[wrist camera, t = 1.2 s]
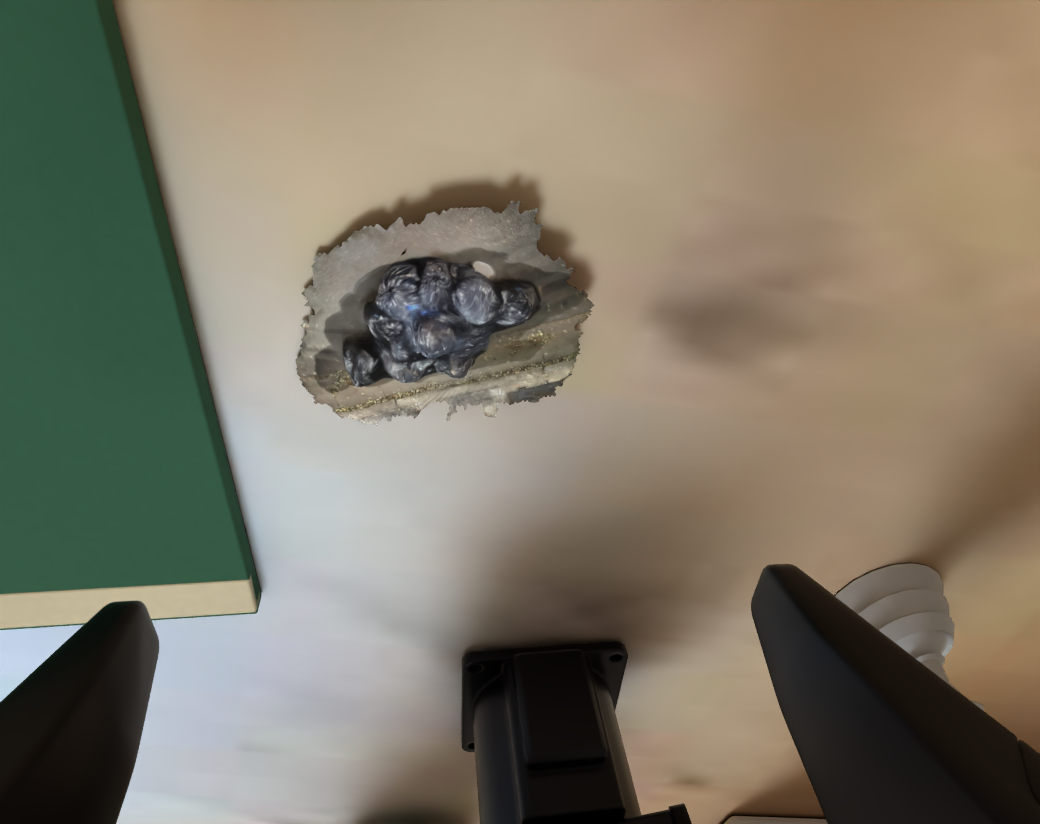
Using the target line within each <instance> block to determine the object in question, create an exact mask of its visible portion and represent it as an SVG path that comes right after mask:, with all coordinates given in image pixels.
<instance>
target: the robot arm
mask: <svg viewBox="0 0 1040 824" xmlns="http://www.w3.org/2000/svg"><path fill="white" fill-rule="evenodd" d="M751 611H752V616H753V620H754V623H755V626H756V630H757V633H758V636H759V640H760V643H761V647H762V650H763V653H764V657H765V660H766V663H767V667H768V670H769V673H770V677H771V680H772V683H773V687H774V690H775V693H776V696H777V699H778V702H779V705H780V708H781V711H782V714H783V716H784V719H785V721H786V724H787V726H788V729H789V731H790V734H791V736H792V738H793V741H794V743H795V746H796V748H797V750H798V753H799V755H800V758H801V760H802V762H803V765H804V767H805V770H806V772H807V774H808V777H809V779H810V782H811V784H812V786H813V789H814V791H815V794H816V796H817V798H818V801H819V803H820V806H821V808H822V811H823V813H824V815H825V818H826V820H827V823H828V824H1040V754H1039V753H1038V752H1036V751H1035V750H1034V749H1033V748H1031V747H1030V746H1029V745H1027V744H1026V743H1025V742H1023V741H1021V740H1017V737H1016V736H1015V735H1014V734H1013V733H1011V732H1010V731H1009V730H1008V729H1006V728H1005V727H1004V726H1002V725H1001V724H1000V723H999V722H997V721H996V720H995V719H993V718H992V717H991V716H989V715H988V714H987V713H986V712H984V711H983V710H982V709H980V708H979V707H978V706H976V705H975V704H974V703H973V702H971V701H970V700H969V699H967V698H966V697H965V696H964V695H962V694H961V693H960V692H958V691H957V690H956V689H954V688H953V687H952V686H951V685H949V684H948V683H947V682H945V681H944V680H943V679H941V678H940V677H939V676H938V675H936V674H935V673H934V672H932V671H931V670H930V669H929V668H927V667H926V666H925V665H923V664H922V663H921V662H919V661H918V660H917V659H916V658H914V657H913V656H912V655H910V654H909V653H908V652H906V651H905V650H904V649H903V648H901V647H900V646H899V645H897V644H896V643H895V642H894V641H892V640H891V639H890V638H888V637H887V636H886V635H884V634H883V633H882V632H881V631H879V630H878V629H877V628H875V627H874V626H873V625H871V624H870V623H869V622H868V621H866V620H865V619H864V618H862V617H861V616H860V615H859V614H857V613H856V612H855V611H853V610H852V609H851V608H849V607H848V606H847V605H846V604H844V603H843V602H842V601H840V600H839V599H838V598H836V597H835V596H834V595H833V594H831V593H830V592H829V591H827V590H826V589H825V588H824V587H822V586H821V585H820V584H818V583H817V582H816V581H814V580H813V579H812V578H811V577H809V576H808V575H807V574H805V573H804V572H803V571H801V570H800V569H799V568H797V567H796V566H794V565H792V564H775V565H767V566H766V567H765V568H764V569H763V571H762V573H761V576H760V579H759V581H758V584H757V587H756V589H755V592H754V595H753V597H752V601H751ZM158 654H159V640H158V636H157V633H156V631H155V628H154V626H153V623H152V620H151V618H150V615H149V613H148V610H147V608H146V606H145V604H144V603H143V602H141V601H137V600H136V601H119V602H111V603H109V604H107V605H106V606H104V607H103V608H102V609H101V610H100V611H99V612H97V613H96V614H95V615H94V616H93V617H92V618H91V619H90V620H89V621H88V622H87V623H86V624H85V625H83V626H82V627H81V628H80V629H79V630H78V631H77V632H76V633H75V634H74V635H73V636H72V637H70V638H69V639H68V640H67V641H66V642H65V643H64V644H63V645H62V646H61V647H60V648H59V649H57V650H56V651H55V652H54V653H53V654H52V655H51V656H50V657H49V658H48V659H47V660H46V661H45V662H43V663H42V664H41V665H40V666H39V667H38V668H37V669H36V670H35V671H34V672H33V673H32V674H30V675H29V676H28V677H27V678H26V679H25V680H24V681H23V682H22V683H21V684H20V685H19V686H17V687H16V688H15V689H14V690H13V691H12V692H11V693H10V694H9V695H8V696H7V697H6V698H5V699H3V700H2V701H1V702H0V824H116V822H117V819H118V816H119V813H120V810H121V807H122V804H123V801H124V798H125V795H126V792H127V789H128V786H129V783H130V779H131V776H132V773H133V769H134V766H135V762H136V758H137V753H138V749H139V745H140V740H141V735H142V730H143V726H144V721H145V716H146V711H147V707H148V702H149V697H150V692H151V688H152V683H153V678H154V673H155V669H156V664H157V659H158ZM627 659H628V654H627V650H626V647H625V645H624V644H623V643H622V642H617V641H614V642H600V643H587V644H574V645H560V646H547V647H534V648H520V649H507V650H494V651H480V652H472V653H469V654H467V655H465V656H464V657H463V659H462V708H461V742H462V749H463V750H464V751H467V752H475V759H476V773H477V787H478V801H479V815H480V824H692V823H691V820H690V818H689V815H688V812H687V809H686V807H685V804H679V805H674V806H669V810H665V811H660V812H655V813H650V814H646V815H641V812H640V808H639V804H638V800H637V796H636V793H635V789H634V785H633V781H632V777H631V773H630V769H629V765H628V761H627V757H626V753H625V750H624V746H623V742H622V738H621V734H620V730H619V726H618V722H617V718H616V714H615V709H616V704H617V700H618V696H619V692H620V688H621V684H622V679H623V675H624V671H625V667H626V663H627Z"/></svg>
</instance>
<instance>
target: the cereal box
mask: <svg viewBox="0 0 1040 824" xmlns="http://www.w3.org/2000/svg"><path fill="white" fill-rule="evenodd" d="M724 824H828V823H827V820H826V819H806V818H778V817H751V816H732V817H730V818H729V819H728V820H727V821H726V822H725V823H724Z"/></svg>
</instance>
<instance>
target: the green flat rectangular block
mask: <svg viewBox="0 0 1040 824" xmlns="http://www.w3.org/2000/svg"><path fill="white" fill-rule="evenodd" d="M260 599H261V591H260V588H259V584H258V580H257V576H256V572H255V568H254V564H253V560H252V556H251V552H250V548H249V544H248V540H247V536H246V532H245V528H244V524H243V520H242V516H241V512H240V508H239V504H238V500H237V496H236V492H235V488H234V484H233V480H232V476H231V472H230V468H229V464H228V460H227V456H226V452H225V448H224V444H223V440H222V436H221V432H220V428H219V424H218V420H217V417H216V413H215V409H214V405H213V401H212V397H211V393H210V389H209V385H208V381H207V377H206V373H205V369H204V365H203V361H202V357H201V353H200V349H199V345H198V341H197V337H196V333H195V329H194V325H193V321H192V317H191V313H190V309H189V305H188V301H187V297H186V293H185V289H184V285H183V281H182V277H181V273H180V269H179V265H178V261H177V257H176V253H175V249H174V246H173V242H172V238H171V234H170V230H169V226H168V222H167V218H166V214H165V210H164V206H163V202H162V198H161V194H160V190H159V186H158V182H157V178H156V174H155V170H154V166H153V162H152V158H151V154H150V150H149V146H148V142H147V138H146V134H145V130H144V126H143V122H142V118H141V114H140V110H139V106H138V102H137V98H136V94H135V90H134V86H133V82H132V78H131V75H130V71H129V67H128V63H127V59H126V55H125V51H124V47H123V43H122V39H121V35H120V31H119V27H118V23H117V19H116V15H115V11H114V7H113V3H112V0H0V630H8V629H23V628H39V627H54V626H69V625H85V624H86V623H87V622H88V621H89V620H90V619H91V618H92V617H93V616H94V615H95V614H96V613H97V612H99V611H100V610H101V609H102V608H103V607H104V606H106V605H107V604H109V603H111V602H119V601H136V600H137V601H141V602H143V603H144V604H145V606H146V608H147V610H148V613H149V615H150V618H151V620H162V619H178V618H193V617H209V616H224V615H240V614H255V613H257V612H258V607H259V603H260Z"/></svg>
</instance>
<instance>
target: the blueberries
mask: <svg viewBox="0 0 1040 824" xmlns="http://www.w3.org/2000/svg"><path fill="white" fill-rule="evenodd" d="M510 203H511V204H510V205H509V206H508V207H507V208H506V209H505V210H504V211H503V212H502V213H501V214H500V213H499V212H497V213H496V214H495V213H494V212H493V211H492V210H491V209H489V208H488V207H485V206H482V207H481V208H478V207H476V208H475V209H474V208H473V207H471V208H470V209H469V208H468V207H466V208H465V209H464V208H463V207H461V208H460V209H458V208H457V207H456V208H455V209H453V208H452V207H451V208H450V209H449V210H448V211H447V212H446V211H445V210H443V211H442V212H441V213H440V215H438V214H437V213H436V212H432V213H429V214H427V215H426V217H425V219H424V221H423V222H422V223H421V224H420V225H418V224H417V223H415V224H414V225H413V224H412V223H410V224H409V225H408V226H407V227H406V226H405V225H404V224H403V219H402V218H401V217H399V218H398V219H397V220H396V221H395V223H393V224H392V225H391V226H390V227H389V229H388V230H385V229H384V228H382V227H381V226H380V225H378V224H377V225H375V226H374V227H372V226H371V225H370V226H369V227H367V226H364V227H363V228H362V229H361V230H360V231H357V230H355V231H354V232H353V234H352V235H351V236H350V237H349V238H348V239H347V240H346V241H345V242H343V244H342V246H341V247H340V246H339V245H337V246H335V247H334V248H333V250H332V251H331V252H330V253H329V254H328V255H327V254H326V253H325V252H324V253H323V254H321V253H320V252H319V253H318V254H317V256H315V258H314V260H315V261H316V262H315V263H314V264H313V265H312V267H313V269H314V270H313V274H314V280H313V281H312V282H313V283H314V284H313V286H312V285H309V286H308V288H306V289H305V290H304V292H303V293H302V294H303V295H304V296H306V297H307V298H306V300H308V302H307V303H306V304H305V306H310V307H311V308H312V309H314V310H315V315H310V316H309V317H308V318H309V322H308V324H307V323H306V322H305V321H304V322H303V323H302V325H301V326H302V327H303V328H304V329H305V330H306V333H307V334H306V335H305V336H304V337H303V338H302V339H301V340H302V341H303V343H302V344H301V345H300V347H301V348H302V349H301V355H300V356H299V357H298V358H297V359H296V364H297V371H298V372H297V374H298V375H299V376H300V377H301V378H300V380H301V381H302V382H303V383H302V385H303V386H304V387H305V388H306V389H307V390H308V392H309V393H310V394H312V395H314V396H315V397H313V398H314V399H315V400H316V401H315V402H314V403H315V404H317V403H320V404H324V403H326V404H328V405H329V406H331V407H332V408H333V412H335V413H337V414H338V415H339V416H340V417H341V418H344V416H345V417H350V418H352V419H357V420H359V421H361V422H362V423H364V424H366V423H368V424H374V425H376V426H377V423H378V422H379V421H380V420H381V419H382V418H383V417H384V416H385V417H386V418H387V421H391V417H392V415H394V416H396V415H399V416H400V415H405V416H409V415H411V416H412V417H414V418H415V417H416V416H418V414H419V413H420V411H421V410H422V409H423V408H425V407H426V406H427V405H428V404H429V403H430V402H431V401H433V403H434V401H436V402H437V401H439V402H440V403H441V402H442V401H443V400H444V399H445V400H446V401H447V402H448V403H449V404H450V405H451V406H450V408H449V410H450V412H449V413H448V418H447V419H446V420H447V421H448V420H450V416H451V415H452V414H453V413H455V412H457V411H456V405H457V404H458V405H459V406H461V405H463V406H464V410H465V409H466V404H467V403H469V404H471V405H472V406H473V405H478V404H480V403H483V409H482V411H483V412H484V413H485V415H486V416H488V417H496V416H495V415H494V414H495V413H496V412H497V410H498V408H496V403H497V402H499V403H501V402H503V403H506V402H507V403H508V404H509V405H511V404H514V402H517V403H518V402H521V401H522V400H524V402H525V401H526V400H528V401H529V402H534V403H535V402H538V401H539V398H542V397H543V396H545V397H547V396H548V395H549V396H551V395H553V396H555V395H556V393H555V392H554V391H555V390H556V389H555V387H556V386H562V385H563V381H564V380H565V379H566V378H567V377H568V376H570V375H572V374H571V372H572V369H573V367H574V363H575V362H576V356H577V354H580V353H579V351H580V349H579V348H578V347H579V345H580V344H579V343H578V338H579V337H580V336H579V335H581V334H583V333H582V332H581V331H580V330H577V331H576V330H574V328H575V325H576V324H577V323H578V322H579V321H580V322H581V323H582V322H584V321H585V320H586V319H587V318H588V315H587V314H589V315H591V314H590V312H592V311H591V310H590V309H591V308H592V307H593V306H595V305H594V304H593V303H592V302H591V301H590V300H589V299H588V298H587V296H588V294H587V293H586V292H585V291H584V290H583V291H582V292H581V293H580V291H579V290H578V289H577V288H576V287H572V286H570V285H568V284H567V283H566V280H568V279H569V278H570V272H574V271H573V270H572V269H573V268H569V269H568V270H567V269H566V263H565V262H564V261H563V260H562V259H561V258H560V257H558V260H557V259H556V260H555V261H553V260H552V259H551V258H550V257H549V256H548V255H545V256H543V255H542V254H541V253H540V252H539V251H538V250H537V242H538V240H539V239H540V228H541V227H542V226H543V225H542V224H541V223H540V224H539V225H537V224H536V223H535V222H534V221H533V220H534V219H535V217H534V215H535V214H536V213H537V212H538V209H537V208H536V209H535V210H534V211H533V210H532V209H531V210H530V211H528V210H525V211H524V212H523V213H522V214H520V213H519V212H518V206H519V205H520V204H521V203H520V202H519V201H518V202H517V203H515V202H514V201H510ZM406 248H407V249H406ZM405 249H406V252H405V254H404V255H401V254H402V253H403V251H404V250H405Z"/></svg>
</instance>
